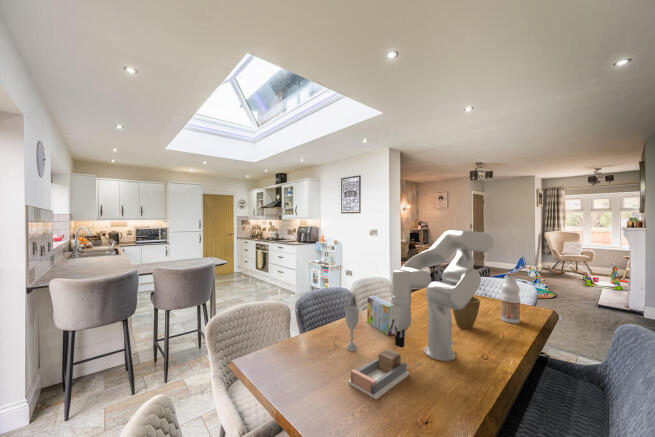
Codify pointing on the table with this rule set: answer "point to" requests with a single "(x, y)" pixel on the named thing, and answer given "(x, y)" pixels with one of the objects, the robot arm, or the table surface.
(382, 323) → the snack box
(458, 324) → the plant pot
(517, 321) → the white plastic bottle
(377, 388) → the chute
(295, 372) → the table surface
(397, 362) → the walnut block
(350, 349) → the chalice
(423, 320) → the table surface
